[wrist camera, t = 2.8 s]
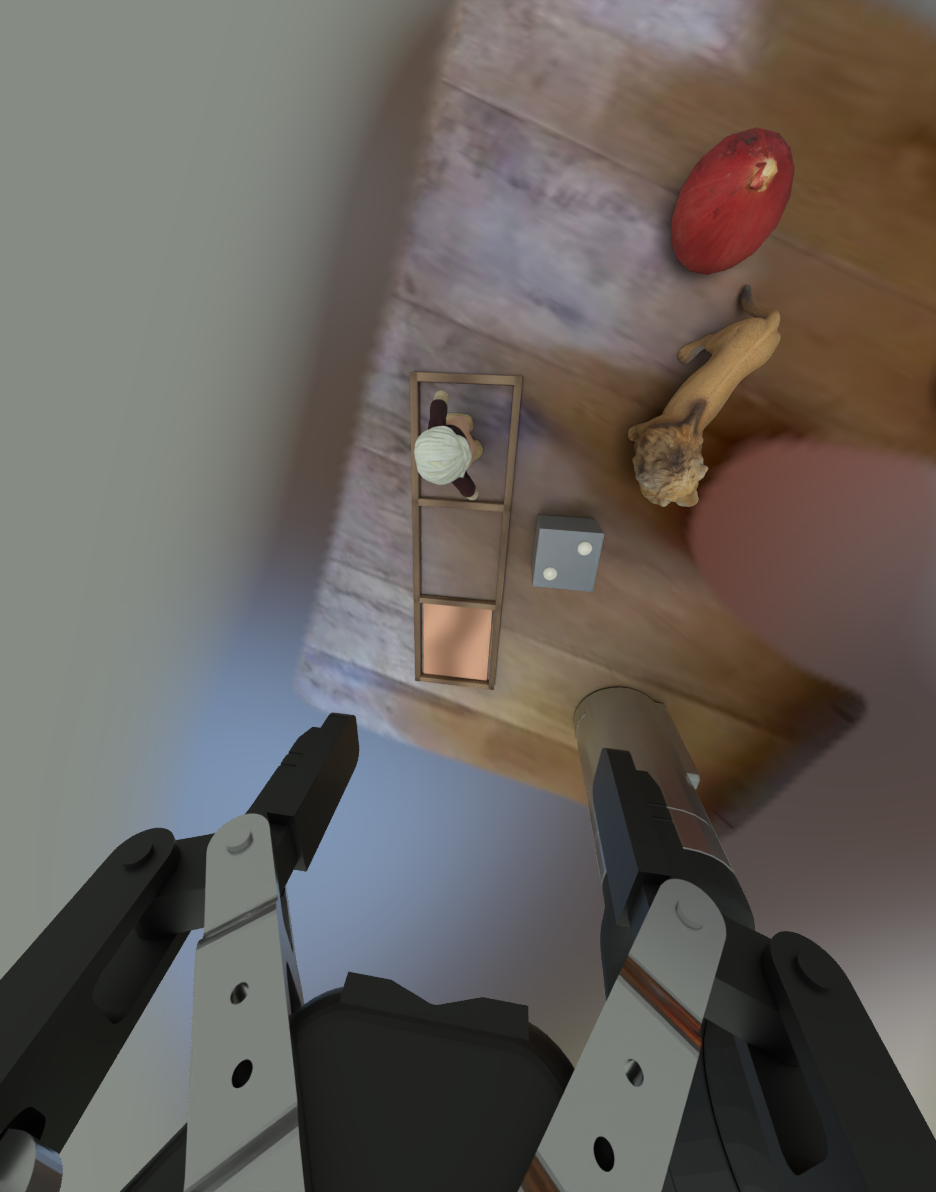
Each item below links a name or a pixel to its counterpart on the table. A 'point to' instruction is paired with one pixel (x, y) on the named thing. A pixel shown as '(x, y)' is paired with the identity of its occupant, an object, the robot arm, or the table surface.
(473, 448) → the grandmother figurine
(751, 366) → the lion figurine
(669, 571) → the table surface
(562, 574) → the die
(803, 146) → the table surface
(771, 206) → the red oval fruit
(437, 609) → the board
